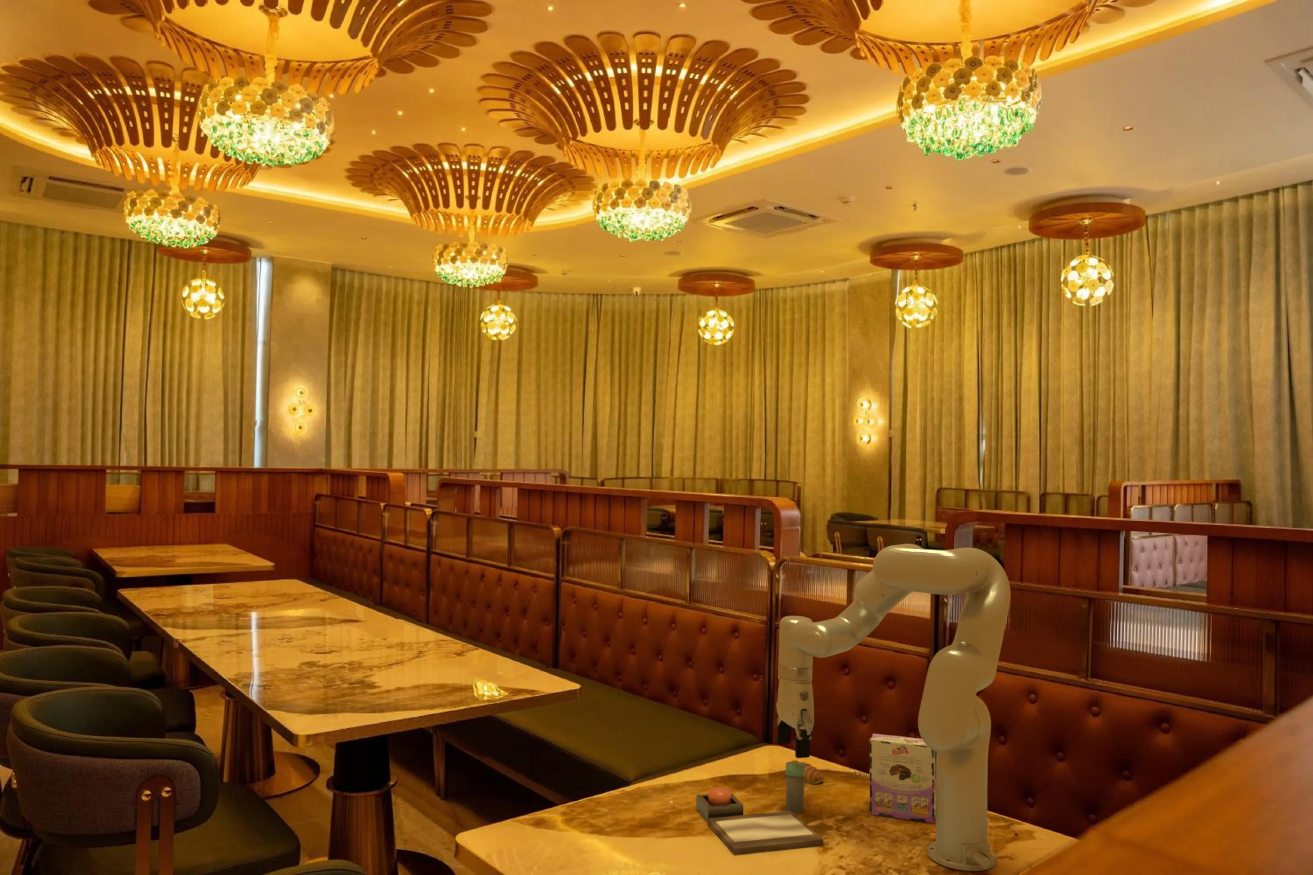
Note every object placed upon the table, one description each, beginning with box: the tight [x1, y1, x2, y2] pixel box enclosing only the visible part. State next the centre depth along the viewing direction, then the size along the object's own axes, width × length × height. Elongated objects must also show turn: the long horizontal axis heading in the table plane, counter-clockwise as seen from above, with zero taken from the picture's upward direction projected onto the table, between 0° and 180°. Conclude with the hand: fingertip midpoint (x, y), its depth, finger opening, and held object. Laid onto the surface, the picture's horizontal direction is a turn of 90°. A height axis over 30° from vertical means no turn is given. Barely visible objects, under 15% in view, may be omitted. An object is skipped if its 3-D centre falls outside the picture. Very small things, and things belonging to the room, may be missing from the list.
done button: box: [707, 786, 732, 806], centre depth 196 cm, size 5×5×2 cm
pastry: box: [784, 759, 825, 785], centre depth 219 cm, size 9×7×4 cm
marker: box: [785, 761, 805, 815], centre depth 199 cm, size 4×4×10 cm
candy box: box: [868, 733, 936, 824], centre depth 197 cm, size 14×6×16 cm, turn 69°
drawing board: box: [706, 810, 824, 856], centre depth 185 cm, size 16×19×1 cm
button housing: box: [695, 792, 744, 821], centre depth 196 cm, size 8×8×3 cm
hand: (792, 750), depth 199 cm, fingers open, 9 cm apart
